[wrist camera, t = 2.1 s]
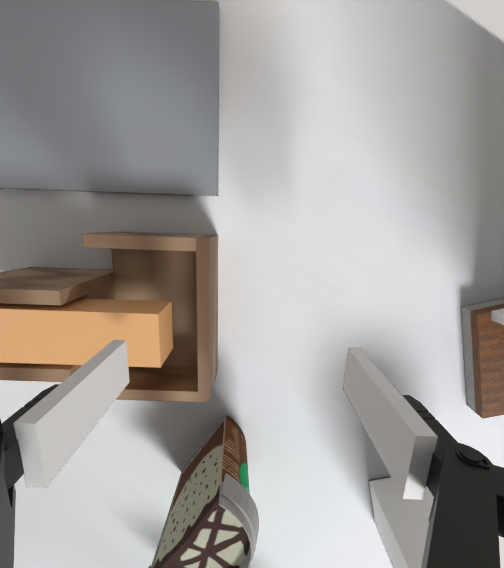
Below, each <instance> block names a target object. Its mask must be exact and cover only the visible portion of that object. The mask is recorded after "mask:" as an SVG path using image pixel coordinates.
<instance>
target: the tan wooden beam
mask: <svg viewBox="0 0 504 568" xmlns="http://www.w3.org/2000/svg"><path fill="white" fill-rule="evenodd" d="M113 340H126V343H127V356H128V367H158V368H161V366H162V365H163V363H164V362H165V360H166V358H167V357H168V355H169V354H170V352H171V351H172V349H173V331H172V303H171V301H145V300H115V299H84V298H77V299H75V300H72V301H70V302H68V303H65V304H63V305H36V304H6V303H0V362H1V363H32V364H64V365H84V364H85V363H86V362H87V361H89V360H90V359H91V358H92V357H93V356H95V355H96V354H97V353H98V352H99V351H101V350H102V349H103V348H104V347H105V346H107V345H108V344H109V343H110V342H111V341H113Z"/></svg>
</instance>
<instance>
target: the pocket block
mask: <svg viewBox="0 0 504 568" xmlns="http://www.w3.org/2000/svg"><path fill="white" fill-rule="evenodd" d="M82 242H83V248H111V250H112V261H113V270H100V269H71V268H41V267H28V268H23V269H18V270H12V271H7V272H2V273H0V303H6V304H36V305H63V304H65V303H68V302H70V301H72V300H75V299H77V298H84V299H115V300H145V301H171V303H172V331H173V349H172V351H171V352H170V354H169V355H168V357H167V358H166V360H165V362H164V363H163V365H162V366H161V368H158V367H128V369H129V381H130V382H129V383H128V385H127V386H126V387H125V388H124V390H123V391H122V392H121V394H120V395H119V396H118V397H117V399H116V400H148V401H180V402H210V399H211V395H212V391H213V387H214V383H215V378H216V374H217V333H218V235H190V234H161V233H132V232H106V233H89V234H82ZM81 366H82V365H64V364H32V363H1V362H0V380H15V381H47V382H63V381H64V380H66V379H67V378H68V377H69V376H70V375H72V374H73V373H74V372H75V371H76V370H78V369H79V368H80V367H81Z"/></svg>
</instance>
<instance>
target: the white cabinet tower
mask: <svg viewBox="0 0 504 568" xmlns="http://www.w3.org/2000/svg"><path fill="white" fill-rule="evenodd" d="M461 321H462V337H463V354H464V370H465V386H466V403H467V406H469V407H470V408H471V409H472V410H473V411H474V412H476V413H477V414H478V415H479V416H480V417H482V418H488V417H494V416H499V415H504V298H500V299H495V300H491V301H486V302H482V303H477V304H472V305H468V306H463V307H461Z"/></svg>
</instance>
